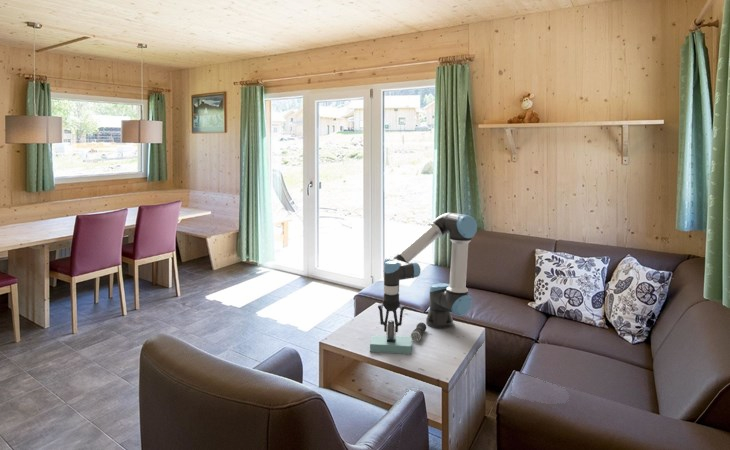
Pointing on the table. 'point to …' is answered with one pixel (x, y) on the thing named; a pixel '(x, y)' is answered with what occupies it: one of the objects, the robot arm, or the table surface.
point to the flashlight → (418, 332)
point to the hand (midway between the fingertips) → (391, 337)
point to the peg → (391, 331)
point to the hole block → (391, 344)
